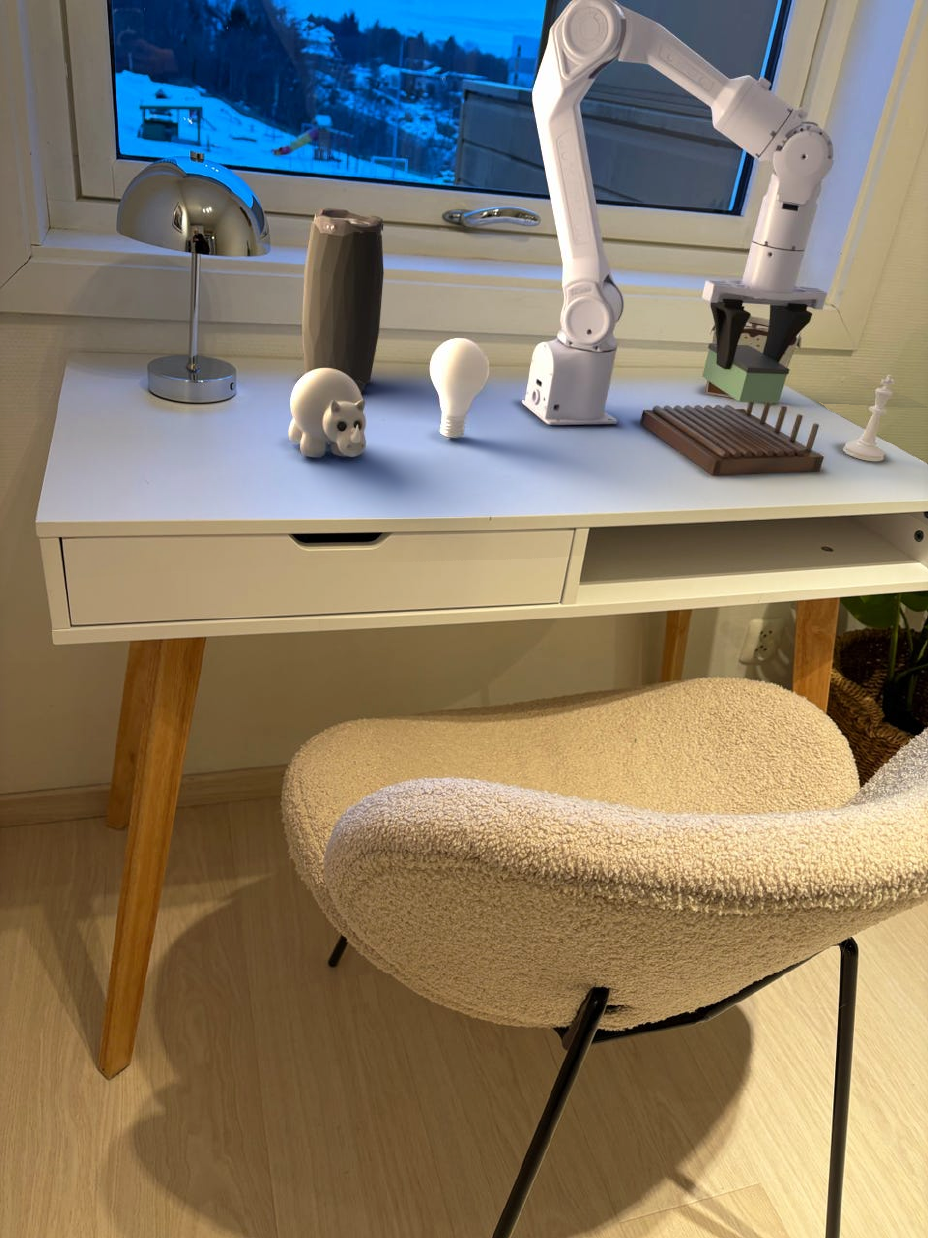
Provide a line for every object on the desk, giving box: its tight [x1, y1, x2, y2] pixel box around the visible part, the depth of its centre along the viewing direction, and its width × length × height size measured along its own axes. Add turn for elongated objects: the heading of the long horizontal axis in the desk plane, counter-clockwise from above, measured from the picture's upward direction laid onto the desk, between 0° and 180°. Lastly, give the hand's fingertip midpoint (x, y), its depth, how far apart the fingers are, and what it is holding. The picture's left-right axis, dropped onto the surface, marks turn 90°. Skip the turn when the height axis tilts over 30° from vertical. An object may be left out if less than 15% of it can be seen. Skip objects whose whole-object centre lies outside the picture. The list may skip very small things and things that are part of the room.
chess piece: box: [842, 374, 896, 462], centre depth 123 cm, size 5×5×10 cm
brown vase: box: [301, 207, 385, 394], centre depth 118 cm, size 9×9×20 cm
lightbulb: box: [429, 337, 490, 440], centre depth 109 cm, size 6×6×11 cm
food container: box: [704, 315, 802, 405], centre depth 140 cm, size 12×6×10 cm, turn 84°
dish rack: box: [639, 402, 825, 476], centre depth 120 cm, size 15×16×5 cm
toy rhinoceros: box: [288, 368, 367, 458], centre depth 100 cm, size 7×12×8 cm, turn 25°
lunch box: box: [701, 342, 791, 404], centre depth 117 cm, size 5×9×4 cm, turn 16°
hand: (745, 367), depth 117 cm, fingers closed on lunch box, 5 cm apart
